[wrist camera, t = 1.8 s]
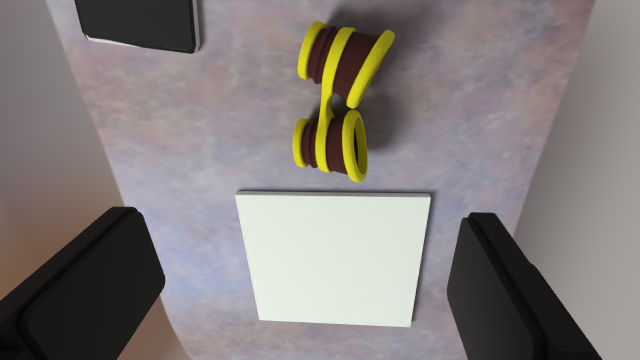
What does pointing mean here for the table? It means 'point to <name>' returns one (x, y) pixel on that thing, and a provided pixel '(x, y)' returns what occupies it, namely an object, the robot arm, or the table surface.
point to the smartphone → (142, 23)
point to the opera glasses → (345, 80)
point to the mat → (334, 254)
